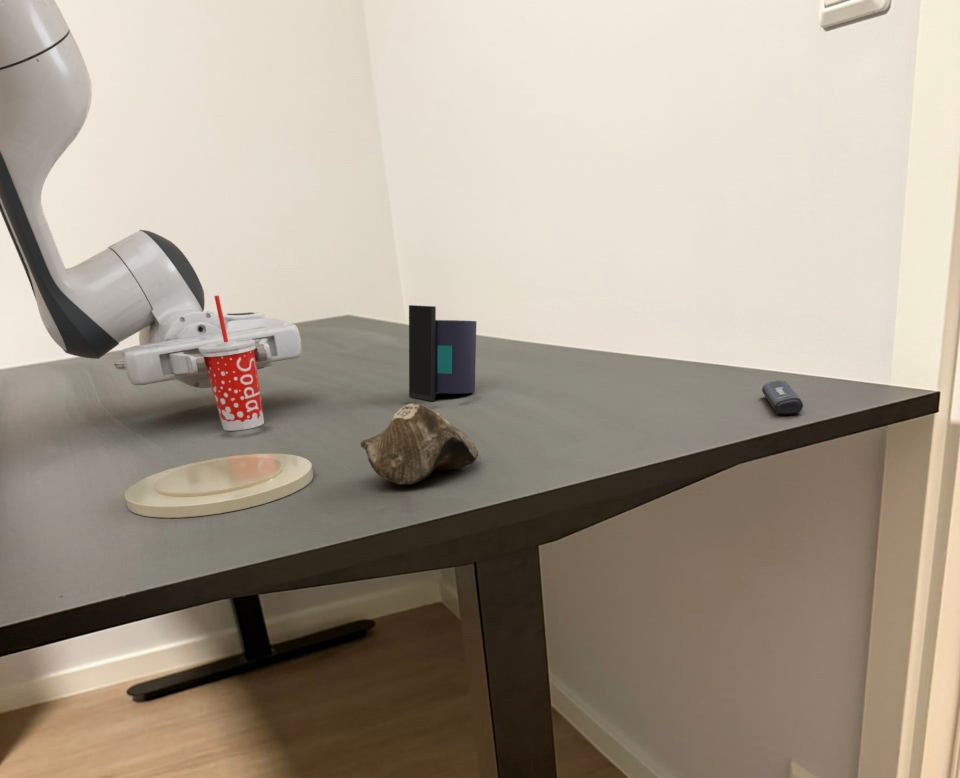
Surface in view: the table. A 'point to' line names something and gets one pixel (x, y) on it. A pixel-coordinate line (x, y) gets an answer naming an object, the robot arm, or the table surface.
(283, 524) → the table surface
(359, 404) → the table surface
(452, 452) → the fossilized seashell
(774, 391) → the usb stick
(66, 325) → the robot arm
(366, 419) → the table surface
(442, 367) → the speaker
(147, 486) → the plate
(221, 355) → the beverage cup
